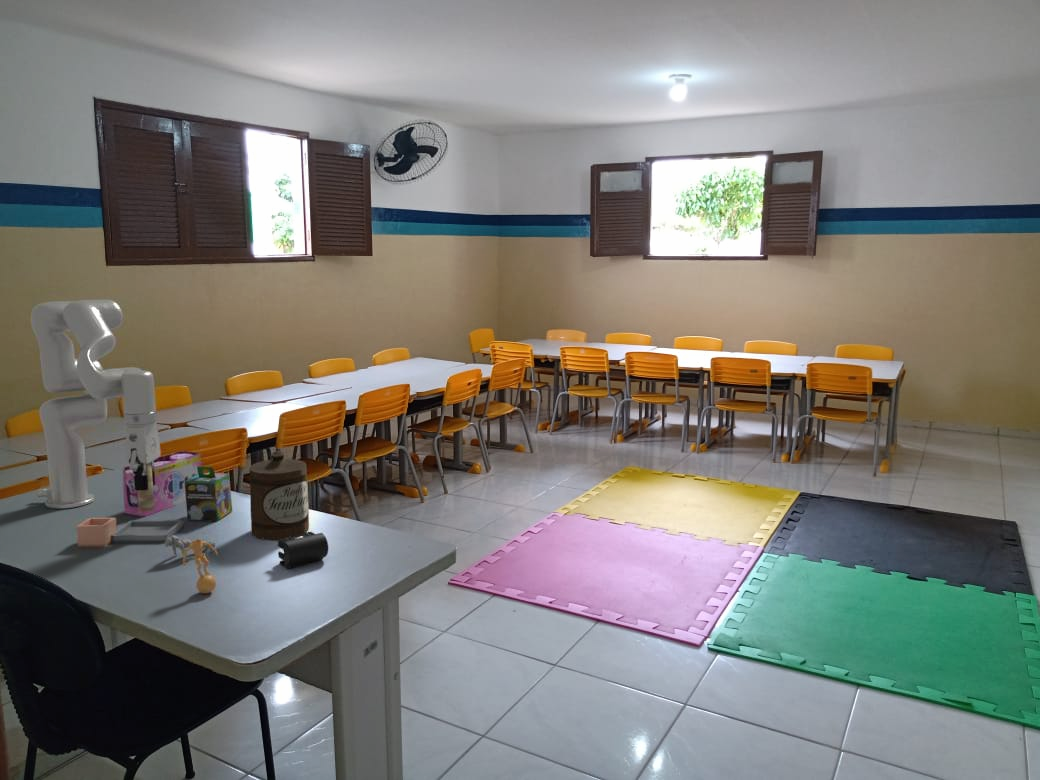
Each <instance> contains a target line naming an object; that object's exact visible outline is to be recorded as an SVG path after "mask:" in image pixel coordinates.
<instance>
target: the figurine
mask: <svg viewBox="0 0 1040 780" xmlns="http://www.w3.org/2000/svg"><path fill="white" fill-rule="evenodd" d="M191 541H192V542H191V544H190V545H189V547H188V548H185V550H184V552H183V554H182V557H183V559H182V560H183V562H182V565H183V567H186V566H187V564H188V562H186V560H185V559H186V553H188V552H189V551H190V550H192V552H193V553H194V556H193V561H194V562H195V564H196V565H197V568H196V570H197V572H198V574H199V578H197V580H196V583H195V585H196V589H197V590H198V592H199V593H200V594H201V593H202V594H209V593H212V592H213V591H214V589H215V588H216V586H217V581H216V579H215V577H214V576H213V575H211V574H210V573H209V572H208V570H207V567H208V566H209V564H210V562H209V560H208V559H207V557H206V553H205V552H203V550H204V549H203V545H209V547H210V548H211V549H212V550H214V553H216V555H217V556H218V555H219V554H218V552H217V550H216V549H215V548H213V547H212V546H211V545H210V543H207V542H203V540H201V538H197V539H193V540H191ZM191 548H192V549H191ZM202 563H204V565H203V570H204V571H203V572H204V573H205V574H203V573H202V571H201V568H202Z"/></svg>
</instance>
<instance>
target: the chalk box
mask: <svg viewBox="0 0 1040 780" xmlns="http://www.w3.org/2000/svg"><path fill="white" fill-rule="evenodd" d="M197 470H198V475H196V476H193V477H191V478H190V479H189V480H187V481H185V494H186V502H185V504H186V515H187V516H186V517H187V520H188V521H203V522H218V521H220V520H221V519H223V518H225V516H227V515H228V514H230V513H231V512H233V505H232V491H231V479H230V473H229V472H226V473H225V472H215V469H214V467H213V466H202V465H201V466H198V467H197ZM205 470H206V471H208V472H203V471H205Z"/></svg>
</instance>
